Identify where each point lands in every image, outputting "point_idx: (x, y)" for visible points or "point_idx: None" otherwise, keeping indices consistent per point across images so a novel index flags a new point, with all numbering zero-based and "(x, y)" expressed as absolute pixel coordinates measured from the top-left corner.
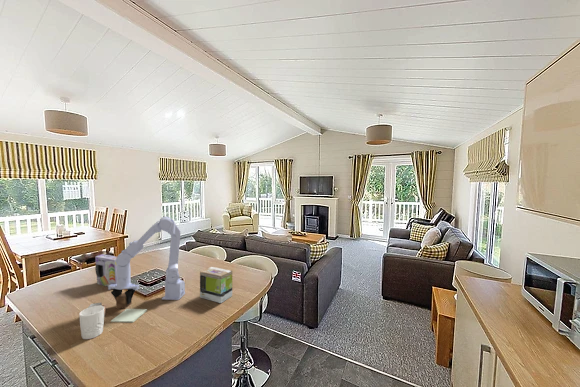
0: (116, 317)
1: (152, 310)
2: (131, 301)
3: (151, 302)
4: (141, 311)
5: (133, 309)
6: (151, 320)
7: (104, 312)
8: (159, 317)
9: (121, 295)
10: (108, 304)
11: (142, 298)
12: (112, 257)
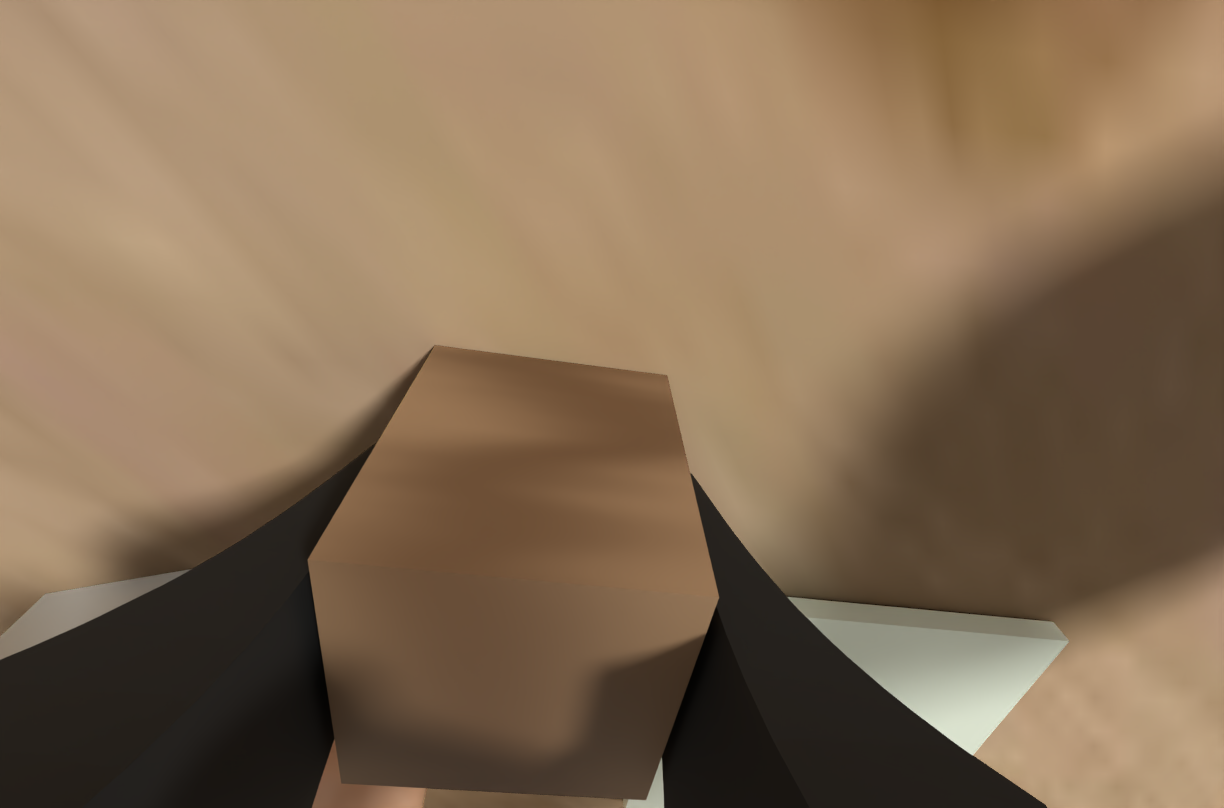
0: (655, 777)
1: (1141, 624)
2: (674, 408)
3: (1144, 350)
4: (980, 684)
5: (827, 633)
6: (1113, 791)
7: (424, 795)
8: (1218, 755)
9: (422, 707)
10: (79, 354)
11: (870, 55)
12: None
